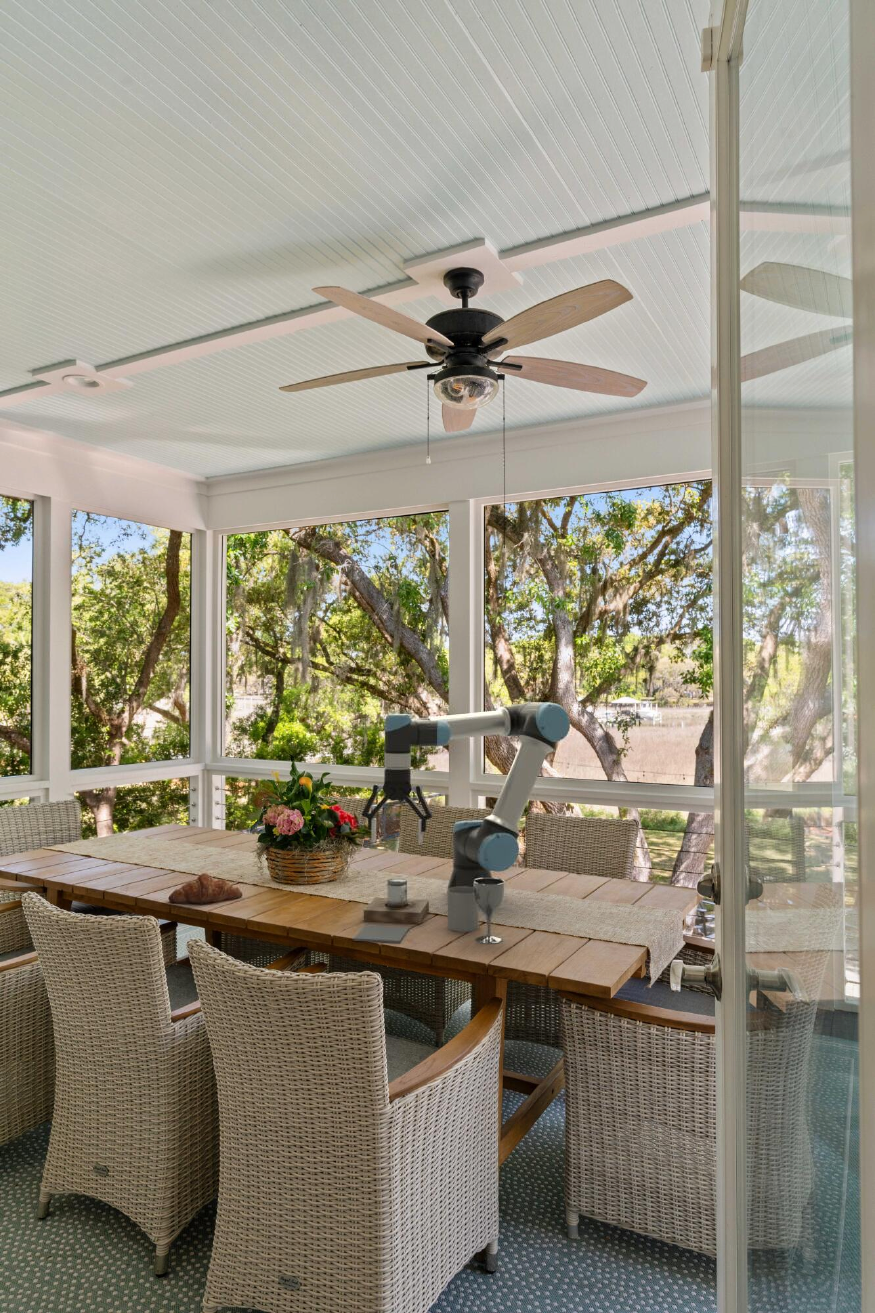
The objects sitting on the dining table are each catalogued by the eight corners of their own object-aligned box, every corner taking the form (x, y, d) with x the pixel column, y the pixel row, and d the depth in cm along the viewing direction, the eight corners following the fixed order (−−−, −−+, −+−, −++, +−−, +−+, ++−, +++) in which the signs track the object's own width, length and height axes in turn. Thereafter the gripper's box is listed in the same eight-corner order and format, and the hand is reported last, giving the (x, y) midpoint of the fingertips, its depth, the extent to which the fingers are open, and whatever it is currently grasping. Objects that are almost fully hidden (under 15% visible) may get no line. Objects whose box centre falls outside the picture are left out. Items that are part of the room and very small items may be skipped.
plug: (408, 913, 238) (408, 878, 239) (404, 918, 233) (404, 882, 233) (389, 912, 239) (389, 877, 239) (385, 917, 234) (385, 882, 234)
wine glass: (502, 935, 218) (502, 877, 218) (506, 944, 210) (506, 884, 210) (472, 935, 218) (472, 877, 218) (474, 944, 210) (474, 884, 210)
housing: (428, 910, 242) (428, 900, 242) (420, 923, 228) (420, 912, 228) (375, 907, 244) (375, 897, 244) (363, 920, 230) (363, 910, 230)
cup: (460, 921, 231) (460, 884, 231) (484, 926, 226) (484, 889, 226) (441, 927, 224) (441, 890, 225) (465, 933, 219) (465, 895, 219)
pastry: (209, 891, 264) (209, 866, 264) (244, 898, 256) (244, 871, 256) (167, 903, 249) (167, 876, 250) (203, 910, 241) (203, 882, 242)
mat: (408, 929, 222) (408, 927, 222) (399, 943, 210) (399, 940, 210) (365, 927, 224) (365, 925, 224) (353, 940, 212) (353, 938, 212)
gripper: (442, 767, 239) (442, 841, 238) (358, 765, 243) (357, 838, 243) (438, 770, 232) (437, 846, 231) (351, 768, 236) (351, 843, 235)
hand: (396, 842), depth 237 cm, fingers open, 13 cm apart
